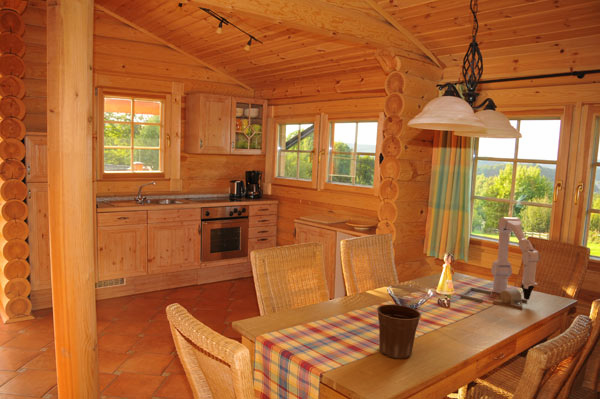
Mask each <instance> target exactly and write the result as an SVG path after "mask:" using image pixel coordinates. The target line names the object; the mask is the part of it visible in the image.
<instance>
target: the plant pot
mask: <svg viewBox="0 0 600 399" xmlns="http://www.w3.org/2000/svg"><path fill="white" fill-rule="evenodd" d="M376 311H377V313H378V314H377V315H378V317H377V319H378V320H377V321H378V326H379V327H378V330H379V331H378V332H379V339H378V340H379V347H378V348H379V352H380V353H381V354H383V355H386V356H387V357H389V358H392V359H398V360H399V359H400V360H401V359H407V358H410V357H411V356H412V354H413V348H414V343H415V338H416V332H417V329H418V326H419V322H420V319H421V317H422V313H421V311H419V310H417V309H415V308H414V307H410V306H406V305H402V304H392V303H391V304H383V305H379V306H377V307H376Z"/></svg>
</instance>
